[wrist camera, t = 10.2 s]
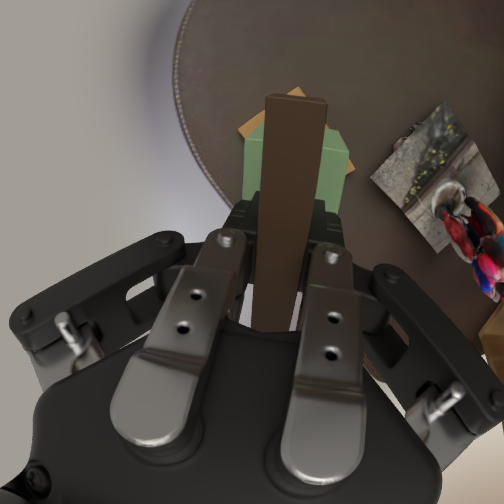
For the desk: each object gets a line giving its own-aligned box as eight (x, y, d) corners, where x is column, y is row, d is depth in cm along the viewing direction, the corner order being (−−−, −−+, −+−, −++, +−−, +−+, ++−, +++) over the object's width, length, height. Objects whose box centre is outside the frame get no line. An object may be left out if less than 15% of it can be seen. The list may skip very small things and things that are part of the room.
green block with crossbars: (266, 85, 16) (202, 93, 7) (342, 95, 15) (391, 116, 6) (257, 227, 22) (214, 348, 13) (319, 237, 22) (316, 366, 12)
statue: (490, 183, 19) (579, 291, 7) (429, 240, 24) (489, 369, 13) (437, 97, 16) (583, 182, 4) (365, 170, 21) (445, 320, 9)
